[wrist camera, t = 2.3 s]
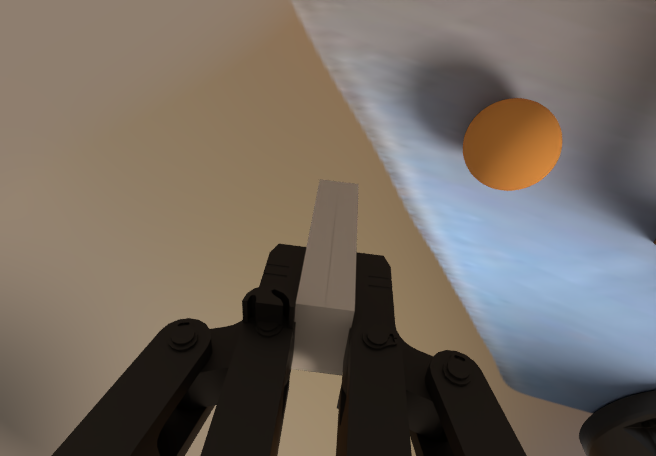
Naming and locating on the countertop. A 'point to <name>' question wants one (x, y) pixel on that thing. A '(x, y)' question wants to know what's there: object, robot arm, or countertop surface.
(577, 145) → the countertop surface
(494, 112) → the ball
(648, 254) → the countertop surface
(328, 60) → the countertop surface
